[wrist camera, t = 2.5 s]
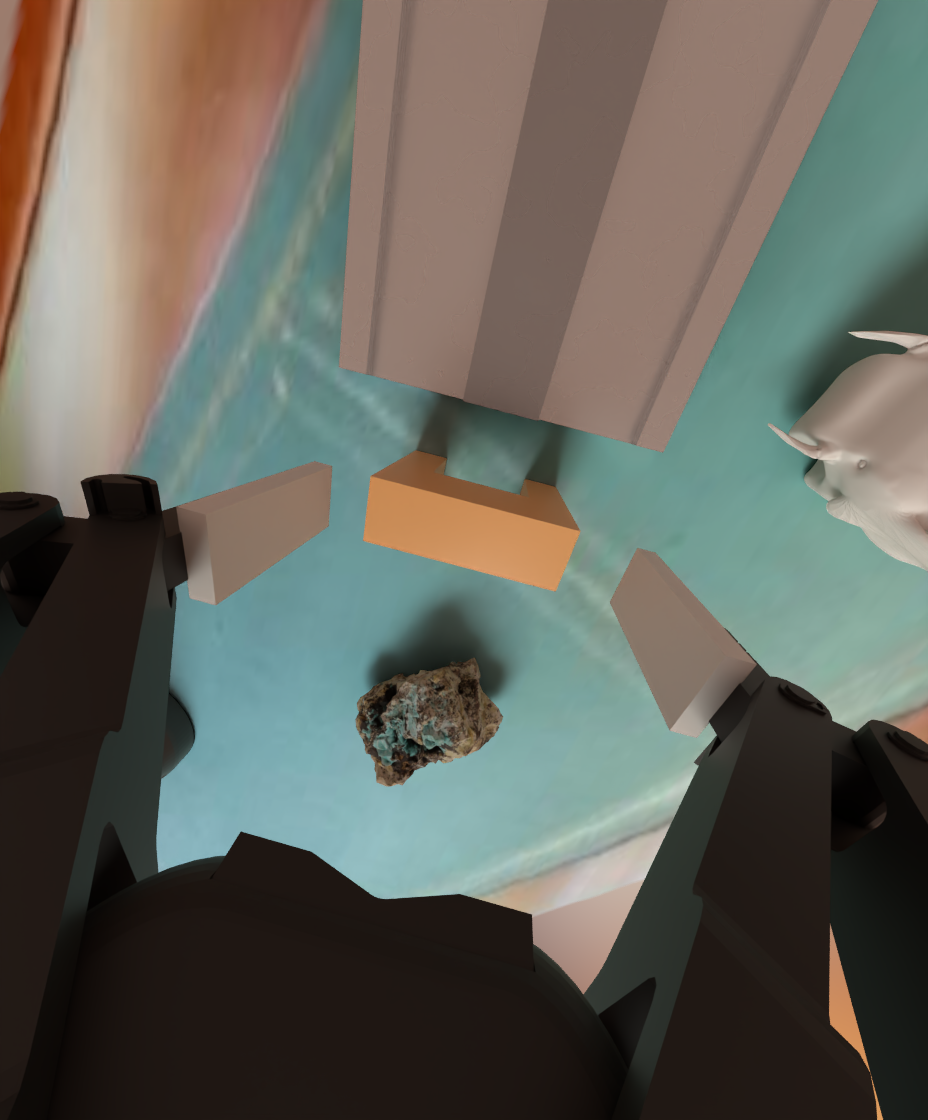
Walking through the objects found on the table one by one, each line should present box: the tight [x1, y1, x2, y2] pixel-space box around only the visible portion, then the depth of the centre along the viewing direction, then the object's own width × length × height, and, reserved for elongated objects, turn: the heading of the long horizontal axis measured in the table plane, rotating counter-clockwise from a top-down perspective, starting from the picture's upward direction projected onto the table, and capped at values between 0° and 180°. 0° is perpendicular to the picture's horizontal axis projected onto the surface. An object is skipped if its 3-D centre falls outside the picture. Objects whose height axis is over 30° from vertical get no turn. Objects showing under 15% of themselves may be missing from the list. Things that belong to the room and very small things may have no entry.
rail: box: [339, 0, 878, 452], centre depth 15 cm, size 18×18×4 cm
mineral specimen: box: [356, 658, 503, 786], centre depth 28 cm, size 12×9×8 cm
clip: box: [363, 450, 580, 591], centre depth 19 cm, size 9×3×8 cm, turn 77°
